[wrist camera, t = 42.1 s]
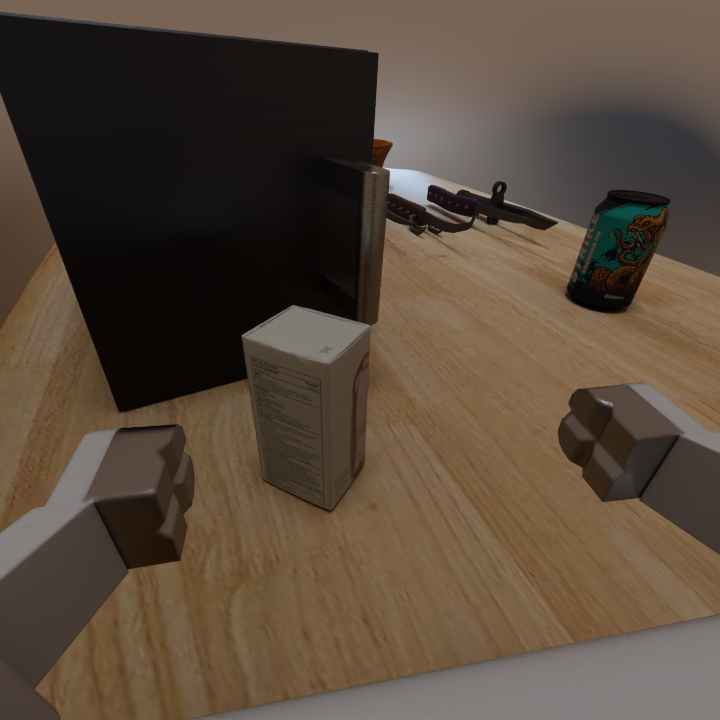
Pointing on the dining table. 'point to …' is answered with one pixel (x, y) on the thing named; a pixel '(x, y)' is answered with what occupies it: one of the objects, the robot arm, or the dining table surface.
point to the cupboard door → (197, 188)
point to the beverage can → (618, 249)
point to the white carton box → (309, 401)
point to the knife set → (462, 210)
